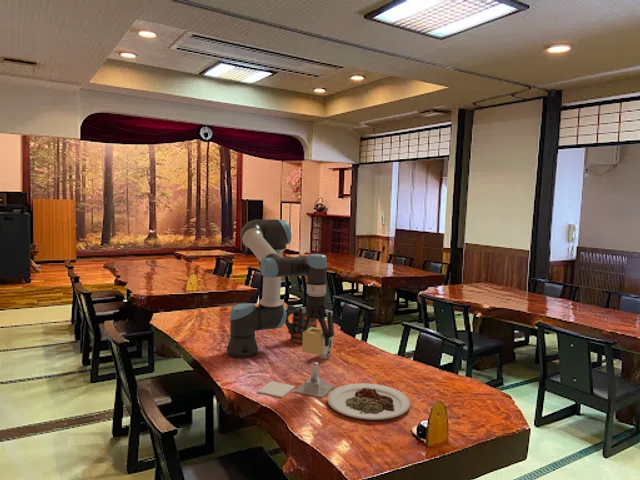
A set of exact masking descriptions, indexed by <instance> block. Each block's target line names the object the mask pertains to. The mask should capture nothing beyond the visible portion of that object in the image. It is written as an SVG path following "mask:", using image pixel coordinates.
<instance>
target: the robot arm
mask: <svg viewBox="0 0 640 480" xmlns="http://www.w3.org/2000/svg"><path fill="white" fill-rule="evenodd" d="M239 234H240V239H241V242H242V244H243V246H245V247H246V248H247V249H250V251H251V253H253V254H254V256H255V257H256V259H258V261H259V263H260V265H259V266H260V267H259V269H260V272H261V276H263V277H262V295H261V297H262V298H261V299H260V300H259V301H258V305H255V304H254V303H251V302H250V303H245V302H244V303H239V304H236V305H234V306H233V307H232V308H230V312H229V313H230V314H229V320H230V321H229V322H230V323H229V326H230V327H229V329H230V330H229V333H230V334H229V335H230V338H229V340H228V344H227V347H226V350H225V351H226V353H225V354H226V356H228V357H230V358H234V359H247V358H248V359H249V358H253V357H256V356H257V355H258V354H259V346H258V343H257V340H256V331H264V330H267V331H268V330H276V329H280V328H282V327H284V326H285V325H286V324H285V321H286V316H287V312H286V310H287V307H286V306H285V304H283V301H282V299H281V287H282V286H281V285H282V278H283V277H299V276H306V294H307V295H306V300H305V301H306V304H305V305H306V306H302V307H301V306H300V307H301V308H299V307H298V308H299V321H298V328H297V332H298V333H301V335H302V340H301V341H302V342H303V331H305V330H307V329H308V328H309V325H310V323H311V320H312V319H313V318H315V319H317V322H319V324H320V328H321V329H322V331H323V334H324V338H323V347H322V355H325V354H326V353H327V346H329V338H331V337H333V338H334V336H335V329H334V328H335V327H334V319H333V316H334V311H333V310H328V308H327V307H326V305H327V303H326V302H327V271H328V263H327V262H328V261H327V256H326V255H325V254H321V253H311V254H308V255H298V256H291V257H289V256H288V257H287V256H285V257H284V256H283V253H284V251H286V250H287V245H290V243H291V242H292V229H291V226H290V224H289V223H288V221H287V220H284V219H278V218H277V219H275V218H274V219H271V218H270V219H253V220H250V221H248V222H247V223H246V224H245V225H243V226H242V228H241V231H240V233H239ZM306 311H307V313H308V316H307V320H306V322H305V325H304V327H303V323H304V317H305V312H306ZM325 315H326V318H325ZM326 321H327V322H326Z"/></svg>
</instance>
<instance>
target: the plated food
mask: <svg viewBox="0 0 640 480" xmlns="http://www.w3.org/2000/svg"><path fill="white" fill-rule="evenodd" d="M326 400H327V404H328V405H329V406H330V407H331V408H332V409H333V410H334V411H335V412H338V413H340V414H342V415H344V416H347V417H349V418H350V417H352V418H356V419H361V420H370V421H371V420H372V421H373V420H375V421H376V420H377V421H378V420H387V419H392V418H396V417H399V416H401V415H403V414H405V413H406V412H408V411H409V409H410V407H411V401H410V398H408V395H406V394H404V393H403V392H402V391H400V390H398V389H395V388H393V387H390V386H386V385H383V384H382V385H381V384H376V383H364V382H363V383H360V382H359V383H352V384H351V383H350V384H345V385H342V386H341V385H340V386H338V387H336V388H333V389H332V390H331V391H330V392H328V394H327V399H326Z"/></svg>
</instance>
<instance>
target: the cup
mask: <svg viewBox="0 0 640 480" xmlns="http://www.w3.org/2000/svg"><path fill="white" fill-rule="evenodd" d="M333 340H334V336H333V337H331V338H329V346H328V349H327V353H326V354H325V355H322V354H321V355H317V356H318V358H320V359H323V360H326V359H329V358H330V357H331V354H332V349H333V345H334V344H333V342H334V341H333Z"/></svg>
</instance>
